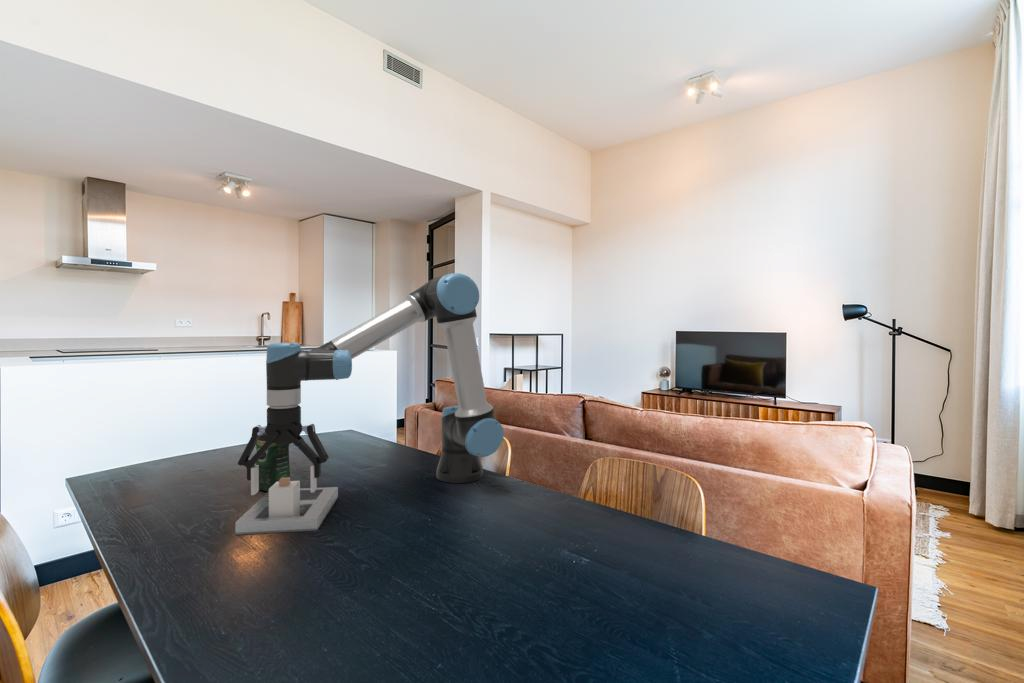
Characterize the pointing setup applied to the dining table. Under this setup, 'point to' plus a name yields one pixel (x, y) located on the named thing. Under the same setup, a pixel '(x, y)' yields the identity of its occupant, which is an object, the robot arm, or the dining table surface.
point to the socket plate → (310, 517)
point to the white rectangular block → (284, 499)
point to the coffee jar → (272, 463)
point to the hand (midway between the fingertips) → (284, 492)
